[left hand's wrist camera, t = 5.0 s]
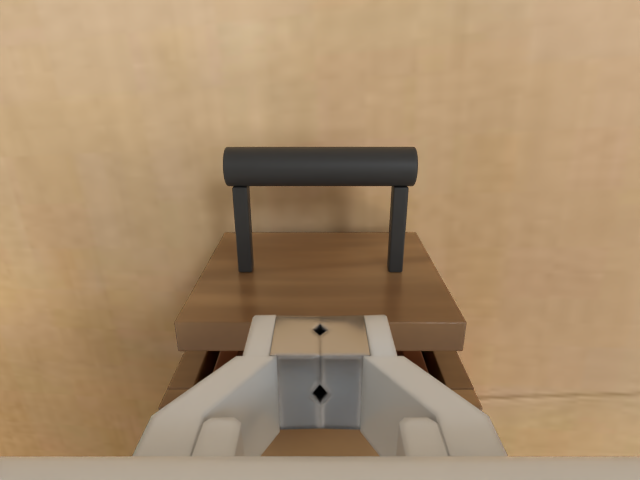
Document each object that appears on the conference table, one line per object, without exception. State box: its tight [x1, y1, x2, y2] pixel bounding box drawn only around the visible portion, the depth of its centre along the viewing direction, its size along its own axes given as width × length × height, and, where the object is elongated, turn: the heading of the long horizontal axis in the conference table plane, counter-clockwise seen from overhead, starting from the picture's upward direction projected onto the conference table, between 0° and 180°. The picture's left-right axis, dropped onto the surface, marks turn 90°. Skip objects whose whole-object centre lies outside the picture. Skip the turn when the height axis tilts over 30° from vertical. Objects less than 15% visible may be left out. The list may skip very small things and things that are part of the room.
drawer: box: [175, 147, 466, 374], centre depth 22 cm, size 25×10×9 cm, turn 0°
